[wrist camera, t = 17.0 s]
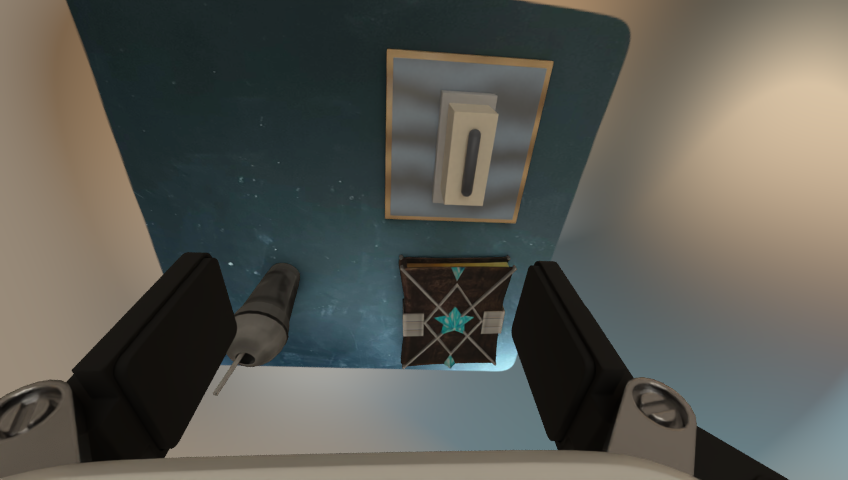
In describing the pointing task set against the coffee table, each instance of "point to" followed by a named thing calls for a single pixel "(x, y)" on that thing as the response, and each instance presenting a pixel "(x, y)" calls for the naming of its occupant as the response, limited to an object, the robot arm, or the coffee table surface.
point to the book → (452, 309)
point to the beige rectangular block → (464, 147)
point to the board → (418, 126)
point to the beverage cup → (264, 320)
